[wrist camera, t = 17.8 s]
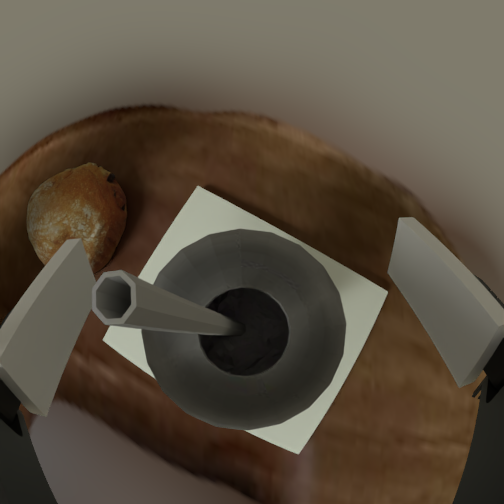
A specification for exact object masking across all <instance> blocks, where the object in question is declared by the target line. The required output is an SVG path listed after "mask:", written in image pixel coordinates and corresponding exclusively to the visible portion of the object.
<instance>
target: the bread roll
mask: <svg viewBox="0 0 504 504" xmlns="http://www.w3.org/2000/svg"><path fill="white" fill-rule="evenodd" d="M114 178H115V175H114V174H113V173H111V172H110V171H108V170H104V169H103V168H102V167H101V166H100V167H97V164H94V163H87V164H83V165H81V166H79V167H76V168H73V169H66V170H65V171H63V172H60V173H58V174H56V175H54V176H53V177H51V178H49V179H48V180H46V181H45V182H43V183H42V184H41V185H40V186H39V187H38V188H37V189H36V190H35V191H34V193H33V194H32V196H31V198H30V200H29V203H28V208H27V231H28V235H29V237H28V238H29V240H30V242H31V243H32V245H33V247H34V250H35V252H36V254H37V256H38V257H39V259H40V260H41V261H42V263H43V264H44V266H45V265H46V264H47V263H48V262H49V261H50V259H51V258H52V257H53V256H54V254H55V253H56V252H57V251H58V250H59V248H60V247H61V246H62V245H63V244H64V242H65V241H66V240H69V239H78V238H81V239H82V243H83V246H84V249H85V252H86V255H87V258H88V261H89V264H90V267H91V270H92V272H93V274H95V273H96V272H98V271H99V270H101V269H102V268H103V267H104V266H105V265H106V264H107V263H108V262H109V260H110V259H111V257H112V254H113V253H114V252H115V248H116V247H117V245H118V243H119V241H120V238H121V236H122V234H123V232H124V229H125V227H126V218H127V209H126V197H125V194H124V192H123V191H122V189H121V187H120V185H119V184H118V183H117V181H116V180H115V179H114Z"/></svg>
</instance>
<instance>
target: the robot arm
mask: <svg viewBox="0 0 504 504" xmlns="http://www.w3.org/2000/svg"><path fill="white" fill-rule="evenodd" d="M387 273H388V274H389V276H390V277H391V278H392V280H393V281H394V283H395V284H396V286H397V287H398V289H399V290H400V291H401V293H402V294H403V296H404V297H405V299H406V300H407V302H408V303H409V305H410V306H411V308H412V309H413V311H414V313H415V314H416V316H417V317H418V319H419V320H420V322H421V323H422V325H423V327H424V328H425V330H426V331H427V333H428V335H429V336H430V338H431V340H432V341H433V343H434V344H435V346H436V348H437V350H438V351H439V353H440V355H441V356H442V358H443V360H444V361H445V363H446V365H447V367H448V368H449V370H450V372H451V374H452V376H453V377H454V379H455V381H456V383H457V385H458V387H459V388H460V387H462V386H465V385H467V384H469V383H472V382H474V381H475V380H476V379H477V377H478V376H479V375H480V373H481V372H482V370H484V372H485V373H486V375H487V376H486V377H485V378H484V380H483V381H482V382H481V384H480V385H479V386H478V387H477V389H476V390H475V391H474V393H473V395H472V397H475V396H476V395H477V394H478V393H479V391H480V390H481V395H480V396H479V397H478V399H480V403H479V409H478V415H477V420H476V425H475V430H474V434H473V439H472V443H471V447H470V451H469V455H468V458H467V462H466V465H465V469H464V472H463V475H462V478H461V481H460V484H459V487H458V490H457V493H456V496H455V498H454V501H453V504H504V304H503V303H502V302H501V300H499V298H497V296H496V295H495V294H494V293H493V292H492V291H490V288H489V287H488V286H487V285H486V284H485V283H484V282H483V281H482V280H481V279H480V278H478V277H477V276H475V275H474V274H472V273H471V272H470V271H469V270H468V269H467V268H466V267H465V266H464V265H463V264H462V263H461V262H460V261H459V260H458V259H457V258H456V257H455V256H454V255H453V254H452V253H451V252H450V251H449V250H448V249H447V248H446V247H445V246H444V245H443V244H442V243H441V242H440V241H439V240H438V239H437V238H436V237H435V236H434V235H433V234H432V233H430V232H429V231H428V230H427V229H426V228H425V227H424V226H423V225H422V224H420V223H419V222H418V221H417V220H416V219H415V218H414V217H404V218H399V220H398V226H397V231H396V236H395V241H394V246H393V250H392V255H391V259H390V264H389V268H388V272H387ZM95 284H96V281H95V278H94V275H93V272H92V270H91V267H90V264H89V261H88V258H87V255H86V252H85V249H84V246H83V243H82V239H81V238H78V239H69V240H66V241H65V242H64V244H63V245H62V246H61V247H60V248H59V250H58V251H57V252H56V253H55V254H54V256H53V257H52V258H51V259H50V261H49V262H48V263H47V264H46V265H45V267H44V268H43V269H42V271H41V272H40V273H39V274H38V276H37V277H36V278H35V280H34V281H33V282H32V284H31V285H30V286H29V288H28V289H27V290H26V292H25V293H24V295H23V296H22V297H21V299H20V300H19V302H18V303H17V304H16V306H15V307H14V308H13V309H12V310H11V311H10V312H9V313H8V314H7V316H6V317H5V319H4V320H3V322H2V325H0V504H58V503H57V502H56V499H55V498H54V495H53V493H52V491H51V489H50V487H49V485H48V482H47V480H46V478H45V476H44V473H43V471H42V468H41V466H40V463H39V461H38V458H37V456H36V453H35V450H34V447H33V445H32V442H31V439H30V436H29V433H28V429H27V426H26V423H25V420H24V416H23V414H22V412H21V411H20V410H19V406H20V403H22V404H23V405H24V406H25V407H26V408H27V409H28V411H29V412H30V413H34V414H38V415H42V416H47V414H48V411H49V408H50V405H51V402H52V400H53V397H54V394H55V391H56V389H57V386H58V384H59V381H60V378H61V376H62V373H63V371H64V368H65V366H66V363H67V361H68V359H69V356H70V354H71V352H72V349H73V347H74V345H75V342H76V340H77V338H78V336H79V334H80V331H81V329H82V327H83V325H84V323H85V321H86V318H87V316H88V314H89V312H90V310H91V308H92V288H93V287H94V285H95Z"/></svg>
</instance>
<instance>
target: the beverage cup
mask: <svg viewBox="0 0 504 504" xmlns="http://www.w3.org/2000/svg"><path fill="white" fill-rule="evenodd" d="M92 310H93V312H94V313H95V314H96V315H97V316H98V317H99V318H100V320H101V321H102V322H103V323H104V324H105V325H111V326H119V327H127V328H136V329H141V333H142V339H143V344H144V350H145V355H146V360H147V364H148V366H149V367H150V369H151V371H152V373H153V375H154V377H155V378H156V380H157V382H158V384H159V385H160V387H161V389H162V391H163V392H164V393H165V394H166V395H167V396H168V397H170V398H171V399H172V400H173V401H174V402H175V403H176V404H177V405H178V406H179V407H180V408H181V409H183V410H184V411H185V412H186V413H187V414H190V415H192V416H194V417H196V418H198V419H200V420H202V421H205V422H207V423H209V424H211V425H214V426H216V427H223V428H231V429H240V430H254V429H259V428H264V427H269V426H273V425H278V424H281V423H283V422H285V421H287V420H289V419H291V418H292V417H294V416H296V415H298V414H299V413H301V412H303V411H305V410H306V409H308V408H309V407H310V406H311V405H312V404H313V403H314V402H315V401H316V400H317V399H318V398H319V396H320V395H321V394H322V393H323V392H324V391H325V390H326V389H327V388H328V386H329V385H330V384H331V382H332V380H333V378H334V375H335V373H336V371H337V369H338V366H339V364H340V362H341V359H342V357H343V354H344V345H345V334H346V319H345V315H344V310H343V306H342V301H341V297H340V293H339V291H338V289H337V288H336V286H335V284H334V283H333V281H332V279H331V278H330V276H329V274H328V273H327V271H326V269H325V268H324V266H323V265H322V264H321V263H320V262H319V261H317V260H316V259H315V258H314V257H313V256H312V255H311V254H310V253H308V252H307V251H306V250H305V249H304V248H303V247H302V246H301V245H299V244H297V243H294V242H292V241H290V240H288V239H285V238H283V237H281V236H279V235H276V234H274V233H272V232H265V231H257V230H248V229H235V230H229V231H224V232H219V233H214V234H209V235H207V236H205V237H203V238H201V239H199V240H197V241H196V242H194V243H192V244H190V245H188V246H186V247H184V248H183V249H181V250H180V251H179V252H178V253H177V254H176V255H175V256H174V257H173V258H172V259H171V260H170V261H169V262H168V263H167V264H166V265H165V266H164V268H163V269H162V270H161V271H160V272H159V273H158V276H157V278H156V280H155V282H154V284H150V283H148V282H146V281H144V280H142V279H140V278H138V277H135V276H133V275H131V274H129V273H127V272H125V271H123V270H117V271H110V272H104V273H103V274H102V275H101V277H100V278H99V280H98V281H97V282H96V284H95V285H94V287H93V288H92Z"/></svg>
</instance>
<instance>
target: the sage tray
mask: <svg viewBox="0 0 504 504" xmlns="http://www.w3.org/2000/svg"><path fill="white" fill-rule="evenodd" d="M235 229H248V230H257V231H265V232H272V233H274V234H276V235H279V236H281V237H283V238H285V239H288V240H290V241H292V242H294V243H297V244H299V245H301V246H302V247H303V248H304V249H305V250H306V251H307V252H308V253H310V254H311V255H312V256H313V257H314V258H315V259H316V260H317V261H319V262H320V263H321V264H322V265H323V266H324V268H325V269H326V271H327V273H328V274H329V276H330V278H331V279H332V281H333V283H334V284H335V286H336V288H337V289H338V291H339V293H340V297H341V301H342V306H343V310H344V315H345V319H346V334H345V345H344V354H343V357H342V359H341V362H340V364H339V366H338V369H337V371H336V373H335V375H334V378H333V380H332V382H331V384H330V385H329V386H328V388H327V389H326V390H325V391H324V392H323V393H322V394H321V395H320V396H319V398H318V399H317V400H316V401H315V402H314V403H313V404H312V405H311V406H310V407H309V408H308V409H306V410H305V411H303V412H301V413H299V414H298V415H296V416H294V417H292V418H291V419H289V420H287V421H285V422H283V423H281V424H278V425H273V426H269V427H264V428H259V429H254V430H245V431H247V432H249V433H251V434H253V435H255V436H257V437H259V438H262V439H264V440H266V441H268V442H270V443H273V444H275V445H277V446H279V447H282V448H284V449H286V450H289V451H291V452H294V453H296V454H299V453H300V451H301V450H302V449H303V447H304V446H305V444H306V443H307V441H308V440H309V438H310V437H311V435H312V434H313V432H314V431H315V429H316V428H317V426H318V425H319V423H320V421H321V420H322V418H323V417H324V415H325V414H326V412H327V410H328V409H329V407H330V405H331V404H332V402H333V400H334V399H335V397H336V395H337V394H338V392H339V390H340V388H341V387H342V385H343V383H344V381H345V380H346V378H347V376H348V374H349V372H350V370H351V369H352V367H353V365H354V363H355V361H356V359H357V357H358V355H359V353H360V351H361V349H362V347H363V345H364V343H365V341H366V339H367V337H368V335H369V333H370V331H371V329H372V327H373V325H374V323H375V321H376V318H377V316H378V314H379V312H380V310H381V307H382V305H383V303H384V300H385V298H386V296H387V293H388V291H386V290H384V289H383V288H381V287H379V286H378V285H376V284H374V283H373V282H371V281H369V280H367V279H366V278H364V277H362V276H361V275H359V274H357V273H355V272H354V271H352V270H350V269H349V268H347V267H345V266H343V265H342V264H340V263H338V262H336V261H335V260H333V259H331V258H329V257H328V256H326V255H324V254H322V253H321V252H319V251H317V250H315V249H314V248H312V247H310V246H308V245H307V244H305V243H303V242H301V241H299V240H298V239H296V238H294V237H292V236H290V235H289V234H287V233H285V232H283V231H281V230H280V229H278V228H276V227H274V226H272V225H270V224H269V223H267V222H265V221H263V220H261V219H259V218H258V217H256V216H254V215H252V214H250V213H248V212H246V211H245V210H243V209H241V208H239V207H237V206H235V205H233V204H232V203H230V202H228V201H226V200H224V199H222V198H220V197H218V196H216V195H214V194H213V193H211V192H209V191H207V190H205V189H203V188H201V187H199V186H198V187H197V188H196V189H195V191H194V192H193V194H192V195H191V196H190V198H189V199H188V201H187V202H186V204H185V205H184V207H183V208H182V210H181V211H180V213H179V214H178V216H177V217H176V219H175V220H174V222H173V223H172V225H171V226H170V228H169V229H168V231H167V232H166V234H165V235H164V237H163V238H162V240H161V241H160V243H159V245H158V246H157V248H156V249H155V251H154V252H153V254H152V256H151V257H150V259H149V260H148V262H147V264H146V265H145V267H144V269H143V270H142V272H141V273H140V275H139V277H138V278H140V279H142V280H144V281H146V282H148V283H150V284H154V282H155V280H156V278H157V276H158V273H159V272H160V271H161V270H162V269H163V268H164V266H165V265H166V264H167V263H168V262H169V261H170V260H171V259H172V258H173V257H174V256H175V255H176V254H177V253H178V252H179V251H180V250H181V249H183V248H184V247H186V246H188V245H190V244H192V243H194V242H196V241H197V240H199V239H201V238H203V237H205V236H207V235H209V234H214V233H219V232H224V231H229V230H235ZM103 341H104V342H106V343H107V344H108V345H110V346H111V347H112V348H113V349H115V350H116V351H117V352H119V353H120V354H121V355H123V356H124V357H125V358H127V359H128V360H129V361H131V362H132V363H134V364H135V365H136V366H138V367H139V368H141V369H142V370H143V371H145V372H146V373H148V374H149V375H151V376H152V377H154V375H153V373H152V371H151V369H150V367H149V366H148V364H147V360H146V355H145V350H144V344H143V339H142V333H141V329H136V328H127V327H119V326H111V325H110V327H109V329H108V331H107V333H106V335H105V336H104V338H103ZM154 378H155V377H154ZM155 379H156V378H155Z"/></svg>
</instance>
